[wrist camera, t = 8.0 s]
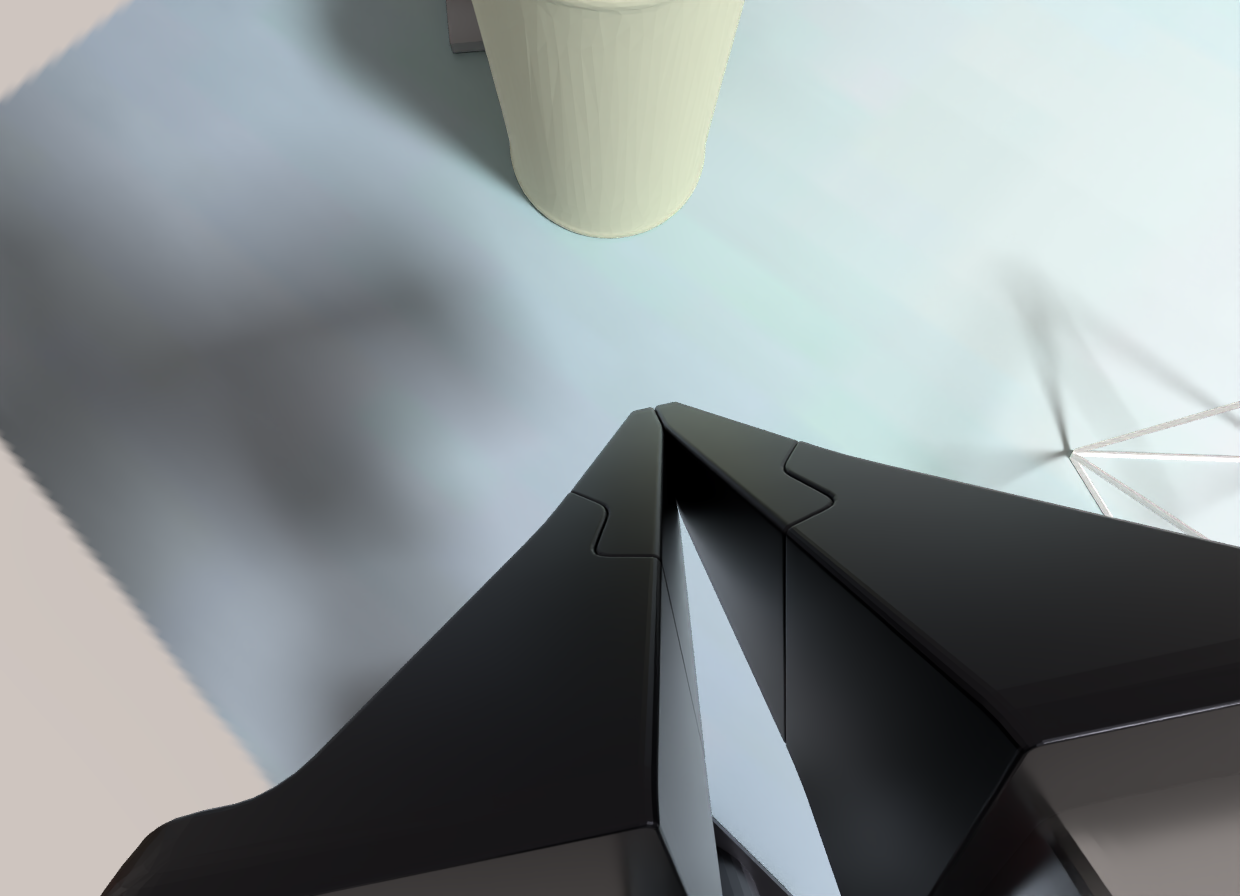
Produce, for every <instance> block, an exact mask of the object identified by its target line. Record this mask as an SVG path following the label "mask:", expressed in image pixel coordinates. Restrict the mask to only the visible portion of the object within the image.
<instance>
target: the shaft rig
mask: <svg viewBox="0 0 1240 896" xmlns="http://www.w3.org/2000/svg"><path fill="white" fill-rule="evenodd" d="M446 6H447V18H448V29H449V40H450V46H451V49H452V51H453V53H459V52H470V51H482V50H485V47H484V43H483V39H482V36H481V32H480V28H479V25H478V21H477V18H476V14H475V11H474V7H473V4H472V0H446Z"/></svg>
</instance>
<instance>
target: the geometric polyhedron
mask: <svg viewBox="0 0 1240 896" xmlns="http://www.w3.org/2000/svg"><path fill="white" fill-rule="evenodd" d="M1237 408H1240V401H1238V402H1235V403H1232V404H1228V405H1225V406H1221V407H1218V408H1214V409H1211V410H1207V411H1204V412H1201V413H1197V414H1194V415H1190V416H1187V417H1183V418H1180V419H1176V420H1173V421H1170V422H1166V423H1163V424H1159V425H1156V426H1152V427H1149V428H1145V429H1142V430H1139V431H1135V432H1132V433H1128V434H1125V435H1121V436H1118V437H1114V438H1111V439H1107V440H1104V441H1101V442H1097V443H1094V444H1090V445H1087V446H1083V447H1080V448H1076V449H1074V451H1073V452H1072V454H1071V456H1070V460H1071V461H1072V463H1073V464H1074V466H1075V468H1076V469H1077V471H1078V473H1079V474H1080V476H1081V478H1082V479H1083V481H1084V482H1085V484H1086V486H1087V487H1088V489H1089V491H1090V492H1091V494H1092V495H1093V497H1094V499H1095V500H1096V502H1097V504H1098V505H1099V507H1100V509H1101V510H1102V512H1103V513H1104V515H1105V516H1109V517H1113V516H1112V514H1111V513H1110V511H1109V509H1108V508H1107V506H1106V505H1105V503H1104V501H1103V500H1102V498H1101V496H1100V495H1099V493H1098V492H1097V490H1096V488H1095V487H1094V485H1093V483H1092V482H1091V480H1090V479H1089V477H1088V475H1087V474H1086V472H1085V470H1084V469H1083V467H1082V466H1081V464H1082V465H1083V466H1085V467H1086V468H1088V469H1089V470H1091V471H1092V472H1094V473H1095V474H1097V475H1098V476H1100V477H1101V478H1103V479H1104V480H1106V481H1107V482H1109V483H1110V484H1112V485H1113V486H1115V487H1117V488H1118V489H1120V490H1121V491H1123V492H1124V493H1126V494H1127V495H1129V496H1130V497H1132V498H1133V499H1135V500H1136V501H1138V502H1139V503H1141V504H1142V505H1144V506H1145V507H1147V508H1148V509H1150V510H1151V511H1153V512H1154V513H1156V514H1157V515H1159V516H1160V517H1162V518H1163V519H1165V520H1166V521H1168V522H1169V523H1171V524H1172V525H1174V526H1175V527H1177V528H1178V529H1180V530H1181V531H1183V532H1184V533H1186V534H1187V535H1190V536H1194V537H1199V538H1203V539H1207V540H1209V539H1208V538H1206V537H1205V536H1203V535H1202V534H1200V533H1199V532H1197V531H1196V530H1194V529H1192V528H1191V527H1189V526H1188V525H1186V524H1185V523H1183V522H1182V521H1180V520H1179V519H1177V518H1175V517H1174V516H1172V515H1171V514H1169V513H1168V512H1166V511H1165V510H1163V509H1162V508H1160V507H1158V506H1157V505H1155V504H1154V503H1152V502H1151V501H1149V500H1148V499H1146V498H1145V497H1143V496H1141V495H1140V494H1138V493H1137V492H1135V491H1134V490H1132V489H1131V488H1129V487H1128V486H1126V485H1124V484H1123V483H1121V482H1120V481H1118V480H1117V479H1115V478H1114V477H1112V476H1111V475H1109V474H1107V473H1106V472H1104V471H1103V470H1101V469H1100V468H1098V467H1097V466H1095V465H1094V464H1092V463H1090V462H1089V461H1087V460H1086V459H1084V458H1083V457H1081V456H1088V457H1116V458H1143V459H1171V460H1199V461H1226V462H1240V456H1215V455H1187V454H1160V453H1132V452H1105V451H1089V450H1092V449H1096V448H1099V447H1103V446H1106V445H1110V444H1114V443H1117V442H1121V441H1124V440H1128V439H1131V438H1135V437H1138V436H1142V435H1145V434H1149V433H1152V432H1156V431H1159V430H1163V429H1166V428H1170V427H1174V426H1177V425H1181V424H1184V423H1188V422H1191V421H1195V420H1198V419H1202V418H1205V417H1209V416H1212V415H1216V414H1219V413H1223V412H1227V411H1230V410H1234V409H1237Z"/></svg>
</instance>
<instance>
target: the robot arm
mask: <svg viewBox="0 0 1240 896" xmlns="http://www.w3.org/2000/svg"><path fill="white" fill-rule="evenodd" d="M677 506H678V508H677ZM678 509H679V512H680V515H681V517H682V520H683V522H684V524H685V526H686V529H687V531H688V533H689V535H690V537H691V540H692V542H693V544H694V546H695V548H696V551H697V553H698V555H699V557H700V559H701V561H702V564H703V566H704V568H705V570H706V572H707V575H708V577H709V579H710V581H711V583H712V586H713V588H714V590H715V592H716V594H717V596H718V599H719V601H720V603H721V605H722V607H723V610H724V612H725V614H726V616H727V618H728V620H729V623H730V625H731V627H732V629H733V631H734V634H735V636H736V638H737V640H738V642H739V645H740V647H741V649H742V651H743V653H744V655H745V658H746V660H747V662H748V664H749V666H750V669H751V671H752V673H753V675H754V677H755V679H756V682H757V684H758V686H759V688H760V690H761V693H762V695H763V697H764V699H765V701H766V704H767V706H768V708H769V710H770V712H771V714H772V717H773V719H774V721H775V723H776V725H777V728H778V730H779V732H780V734H781V736H782V739H783V741H784V742H785V743H786V747H787V749H788V751H789V754H790V756H791V758H792V761H793V763H794V765H795V768H796V770H797V773H798V775H799V778H800V780H801V783H802V785H803V788H804V791H805V793H806V796H807V799H808V802H809V804H810V807H811V810H812V813H813V816H814V819H815V822H816V825H817V828H818V830H819V833H820V836H821V839H822V842H823V845H824V848H825V851H826V854H827V856H828V859H829V862H830V865H831V868H832V871H833V874H834V877H835V879H836V882H837V885H838V888H839V891H840V894H841V896H1240V547H1237V546H1233V545H1229V544H1225V543H1220V542H1216V541H1212V540H1207V539H1203V538H1199V537H1194V536H1190V535H1186V534H1182V533H1177V532H1173V531H1169V530H1164V529H1160V528H1156V527H1152V526H1147V525H1143V524H1139V523H1134V522H1130V521H1126V520H1121V519H1117V518H1113V517H1109V516H1104V515H1100V514H1096V513H1091V512H1087V511H1083V510H1079V509H1074V508H1070V507H1066V506H1061V505H1057V504H1053V503H1048V502H1044V501H1040V500H1036V499H1031V498H1027V497H1023V496H1018V495H1014V494H1010V493H1005V492H1001V491H997V490H993V489H988V488H984V487H980V486H975V485H971V484H967V483H963V482H958V481H954V480H950V479H945V478H941V477H937V476H932V475H928V474H924V473H920V472H915V471H911V470H907V469H902V468H898V467H894V466H889V465H885V464H881V463H877V462H873V461H869V460H865V459H861V458H857V457H853V456H849V455H845V454H841V453H838V452H835V451H831V450H828V449H824V448H821V447H818V446H815V445H812V444H809V443H805V442H802V441H800V442H798V441H796V440H793V439H790V438H787V437H784V436H781V435H778V434H775V433H772V432H768V431H765V430H762V429H759V428H756V427H753V426H750V425H747V424H743V423H740V422H737V421H734V420H731V419H728V418H725V417H722V416H718V415H715V414H712V413H709V412H706V411H703V410H700V409H697V408H693V407H690V406H687V405H684V404H681V403H678V402H672V403H667V404H663V405H658V406H656V408H655V410H654V409H653V408H651V407H649V408H645V409H641V410H636V411H633V412H632V413H631V414H630V415H629V416H628V418H627V419H626V420H625V422H624V423H623V424H622V425H621V427H620V428H619V429H618V431H617V432H616V433H615V435H614V436H613V437H612V438H611V440H610V441H609V442H608V444H607V445H606V446H605V448H604V449H603V450H602V451H601V453H600V454H599V455H598V457H597V458H596V459H595V461H594V462H593V463H592V465H591V466H590V467H589V468H588V470H587V471H586V472H585V474H584V475H583V476H582V478H581V479H580V480H579V481H578V483H577V484H576V485H575V487H574V488H573V489H572V491H571V493H569V494H568V495H567V496H566V497H565V498H564V500H563V501H562V502H561V504H560V505H559V506H558V507H557V509H556V510H555V511H554V512H553V513H552V515H551V516H550V517H549V518H548V519H547V521H546V522H545V523H544V524H543V525H542V526H541V527H540V528H539V529H538V530H537V531H536V532H535V534H534V535H533V536H532V537H531V538H530V539H529V540H528V541H527V542H526V543H525V544H524V545H523V546H522V547H521V548H520V549H519V550H518V551H517V552H516V553H515V554H514V555H513V556H512V557H511V558H510V559H509V560H508V561H507V562H506V563H505V564H504V565H503V566H502V567H501V568H500V569H499V570H498V571H497V572H496V573H495V574H494V575H493V576H492V577H491V578H490V579H489V580H488V581H487V582H486V583H485V584H484V585H483V586H482V587H481V588H480V589H479V591H478V592H477V593H476V594H475V595H474V596H473V597H472V598H471V599H470V600H469V601H468V602H467V603H466V604H465V605H464V606H463V607H462V608H461V609H460V610H459V611H458V612H457V613H456V614H455V615H454V616H453V617H452V618H451V619H450V620H449V621H448V622H447V623H446V624H445V625H444V626H443V627H442V628H441V629H440V630H439V631H438V632H437V633H436V634H435V635H434V636H433V637H432V638H431V639H430V640H429V641H428V642H427V643H426V644H425V645H424V646H423V647H422V648H421V649H420V650H419V651H418V652H417V653H416V654H415V655H414V656H413V657H412V658H411V659H410V660H409V661H408V662H407V663H406V664H405V665H404V666H403V667H402V668H401V669H400V670H399V671H398V672H397V673H396V674H395V675H394V676H393V677H392V678H391V679H390V680H389V681H388V682H387V683H386V684H385V685H384V686H383V687H382V688H381V689H380V690H379V691H378V692H377V693H376V694H375V695H374V696H373V697H372V698H371V699H370V700H369V701H368V702H367V703H366V704H365V705H364V706H363V707H362V708H361V709H360V710H359V711H358V712H357V713H356V714H355V715H354V716H353V717H352V718H351V719H350V720H349V721H348V723H347V724H346V725H345V726H344V727H343V728H342V729H341V730H340V731H339V732H338V733H337V734H336V735H335V736H334V737H333V738H332V739H331V740H330V741H329V742H328V743H327V744H326V745H325V746H324V747H323V748H322V749H321V750H320V751H319V752H318V753H317V754H316V755H315V756H314V757H313V758H312V759H310V760H309V761H308V762H307V763H306V764H305V765H304V766H302V767H301V768H300V769H299V770H298V771H297V772H296V773H294V774H293V775H291V776H290V777H288V778H287V779H285V780H284V781H283V782H281V783H280V784H278V785H277V786H275V787H273V788H272V789H270V790H268V791H266V792H264V793H262V794H260V795H258V796H256V797H254V798H251V799H248V800H245V801H242V802H239V803H236V804H232V805H227V806H222V807H218V808H213V809H208V810H203V811H200V812H196V813H193V814H190V815H186V816H183V817H179V818H176V819H174V820H172V821H169V822H167V823H165V824H163V825H162V826H160V827H158V828H157V829H155V830H154V831H153V832H151V833H150V834H149V835H148V836H147V837H146V838H145V839H144V840H143V841H142V842H141V844H140V845H139V846H138V847H137V849H136V850H135V851H134V852H133V853H132V855H131V856H130V857H129V858H128V859H127V860H126V862H125V863H124V864H123V865H122V867H121V868H120V869H119V871H118V872H117V874H116V875H115V876H114V878H113V879H112V880H111V882H110V883H109V884H108V886H107V887H106V889H105V890H104V891H103V893H102V895H101V896H793V895H792V894H791V893H790V892H789V891H788V890H787V889H786V888H785V887H784V886H783V885H782V884H781V883H779V882H778V881H777V880H776V879H775V878H774V877H773V876H772V875H771V874H770V873H769V872H768V871H767V870H766V869H765V868H764V867H763V866H762V865H761V864H760V863H759V862H758V861H757V860H756V859H755V858H754V857H753V856H752V855H751V854H750V853H749V852H748V851H747V850H746V849H745V848H744V847H743V846H742V845H741V844H740V843H739V842H738V841H737V840H736V839H735V838H734V837H733V836H732V835H731V834H730V833H729V832H728V831H727V830H726V829H725V828H724V827H723V826H722V825H721V824H720V823H719V822H718V821H716V820H715V819H714V818H713V817H712V812H711V805H710V796H709V788H708V779H707V771H706V763H705V752H704V743H703V734H702V724H701V715H700V706H699V696H698V687H697V678H696V669H695V659H694V650H693V641H692V631H691V622H690V613H689V604H688V594H687V585H686V576H685V566H684V557H683V548H682V539H681V529H680V521H679V514H678Z"/></svg>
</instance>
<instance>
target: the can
mask: <svg viewBox="0 0 1240 896" xmlns="http://www.w3.org/2000/svg"><path fill="white" fill-rule="evenodd" d="M744 1H745V0H472V4H473V7H474V11H475V14H476V18H477V21H478V25H479V28H480V32H481V36H482V39H483V43H484V47H485V50H486V54H487V58H488V61H489V65H490V69H491V73H492V76H493V80H494V84H495V87H496V91H497V95H498V98H499V102H500V106H501V110H502V113H503V117H504V121H505V125H506V129H507V133H508V137H509V141H510V155H511V161H512V166H513V169H514V172H515V175H516V178H517V180H518V182H519V185H520V186H521V188H522V190H523V192H524V193H525V195H526V196H527V197H528V199H529V200H530V201H531V203H532V204H533V205H534V206H535V207H536V208H537V209H538V210H539V211H540V212H541V213H542V214H543V215H545V216H546V217H547V218H548V219H550V220H551V221H553V222H554V223H556V224H558V225H559V226H561V227H563V228H565V229H567V230H570V231H572V232H575V233H578V234H581V235H585V236H589V237H596V238H623V237H628V236H633V235H637V234H640V233H643V232H646V231H649V230H651V229H653V228H655V227H657V226H659V225H660V224H662V223H663V222H665V221H666V220H668V219H669V218H670V217H672V216H673V215H674V214H675V213H676V212H677V211H678V210H679V209H680V208H681V207H682V206H683V205H684V204H685V203H686V201H687V200H688V199H689V197H690V196H691V194H692V193H693V191H694V189H695V187H696V185H697V183H698V181H699V178H700V175H701V173H702V169H703V165H704V158H705V145H706V141H707V137H708V133H709V129H710V125H711V121H712V118H713V114H714V110H715V106H716V102H717V99H718V95H719V91H720V87H721V83H722V80H723V76H724V73H725V69H726V66H727V62H728V58H729V55H730V51H731V48H732V44H733V41H734V37H735V33H736V30H737V26H738V23H739V19H740V16H741V12H742V9H743V5H744Z"/></svg>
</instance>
